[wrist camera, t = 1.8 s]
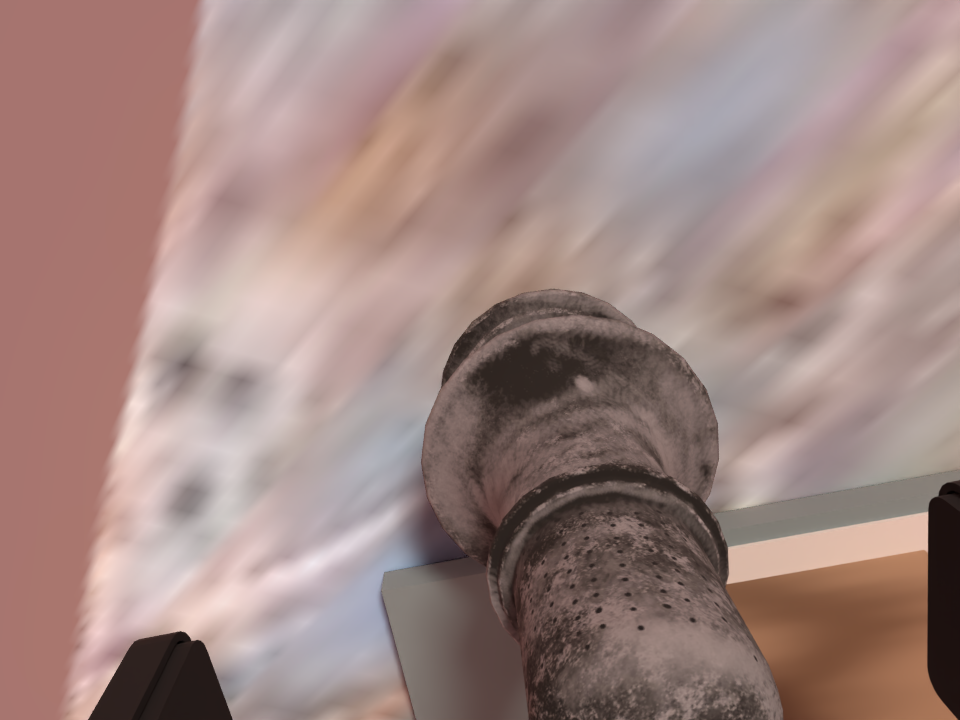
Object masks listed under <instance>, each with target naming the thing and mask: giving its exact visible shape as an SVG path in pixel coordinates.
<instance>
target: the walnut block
mask: <svg viewBox="0 0 960 720" xmlns="http://www.w3.org/2000/svg"><path fill="white" fill-rule="evenodd" d="M726 590H727V592H728V594H729V595H730V597H731V599H732V601H733V602H734V604H735V606H736V608H737V610H738V611H739V613H740V615H741V617H742V618H743V620H744V622H745V624H746V625H747V627H748V629H749V631H750V633H751V634H752V636H753V638H754V640H755V641H756V643H757V645H758V647H759V649H760V650H761V652H762V654H763V656H764V657H765V659H766V661H767V663H768V664H769V667H770V670H771V672H772V675H773V678H774V680H775V683H776V686H777V688H778V692H779V696H780V700H781V704H782V708H783V720H958V719H957V718H956V717H955V716H954V714H953V713H952V712H951V711H950V710H949V709H948V708H947V706H946V705H945V704H944V703H943V702H942V701H941V699H940V698H939V696H938V695H937V694H936V692H935V690H934V688H933V686H932V684H931V681H930V678H929V675H928V669H927V615H928V553H927V552H926V551H925V550H920V551H914V552H909V553H903V554H897V555H891V556H886V557H880V558H874V559H869V560H863V561H857V562H851V563H846V564H840V565H834V566H829V567H823V568H817V569H811V570H806V571H800V572H794V573H789V574H783V575H777V576H771V577H766V578H760V579H754V580H749V581H743V582H737V583H731V584H726Z"/></svg>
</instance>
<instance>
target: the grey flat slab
mask: <svg viewBox="0 0 960 720" xmlns="http://www.w3.org/2000/svg"><path fill="white" fill-rule="evenodd" d="M958 480H960V470H956V471H951V472H945V473H939V474H934V475H928V476H923V477H917V478H911V479H906V480H900V481H894V482H889V483H883V484H878V485H872V486H866V487H861V488H855V489H850V490H844V491H838V492H833V493H827V494H821V495H816V496H810V497H805V498H799V499H793V500H788V501H782V502H777V503H771V504H765V505H760V506H754V507H749V508H743V509H737V510H732V511H726V512H720V513H715V514H714V516H715V517H716V518H717V520H718V522H719V524H720V527H721V530H722V532H723V535H724V538H725V541H726V543H727V546H728V561H729V576H728V580H727V584H731V583H737V582H743V581H749V580H754V579H760V578H766V577H771V576H777V575H783V574H789V573H794V572H800V571H806V570H811V569H817V568H823V567H829V566H834V565H840V564H846V563H851V562H857V561H863V560H869V559H874V558H880V557H886V556H891V555H897V554H903V553H909V552H914V551H920V550H925V551H926V552H927V553H928V507H929V502H930V501H931V499H932V498H934V497H937V496H938V495H939V491H940V489H941V487H942V485H944V484H945V483H947V482H952V481H958ZM381 592H382V595H383V599H384V603H385V606H386V610H387V614H388V618H389V621H390V625H391V629H392V632H393V636H394V640H395V644H396V647H397V651H398V655H399V658H400V662H401V666H402V670H403V673H404V677H405V681H406V684H407V688H408V692H409V696H410V699H411V703H412V707H413V710H414V714H415V718H416V720H529V717H528V709H527V700H526V692H525V683H524V675H523V666H522V657H521V649H520V645H519V644H518V643H517V642H516V641H515V640H514V639H513V638H512V637H511V636H510V635H509V634H508V632H507V631H506V630H505V629H504V628H503V627H502V625H501V623H500V621H499V619H498V617H497V615H496V613H495V611H494V609H493V607H492V605H491V603H490V598H489V592H488V586H487V580H486V567H485V566H483V565H482V564H480V563H479V562H477V561H476V560H474V559H473V558H471V557H468V558H462V559H457V560H451V561H445V562H440V563H434V564H429V565H423V566H417V567H412V568H406V569H401V570H395V571H389V572H384V578H383V584H382V590H381Z"/></svg>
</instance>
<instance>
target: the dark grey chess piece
mask: <svg viewBox="0 0 960 720" xmlns="http://www.w3.org/2000/svg"><path fill="white" fill-rule="evenodd" d="M718 461H719V446H718V423H717V420H716V417H715V414H714V411H713V408H712V405H711V402H710V399H709V396H708V393H707V390H706V388H705V387H704V385H703V384H702V383H701V381H700V380H699V378H698V377H697V376H696V374H695V373H694V372H693V370H692V369H691V367H690V366H689V365H688V363H687V362H686V360H685V359H684V358H683V357H682V356H680V355H679V354H678V353H677V352H675V351H674V350H673V349H671V348H670V347H669V346H668V345H666V344H665V343H664V342H662V341H661V340H660V339H659V338H657V337H656V336H655V335H653V334H651V333H649V332H646V331H644V330H641V329H639V328H637V327H636V326H635V325H634V323H633V322H632V321H631V320H630V319H629V318H627V317H626V316H625V315H623V314H622V313H621V312H620V311H618V310H617V309H616V308H614V307H613V306H612V305H611V304H609V303H607V302H604V301H602V300H600V299H597V298H595V297H592V296H590V295H587V294H585V293H582V292H574V291H566V290H558V289H549V290H542V291H534V292H527V293H522V294H520V295H517V296H515V297H512V298H510V299H507V300H505V301H503V302H500V303H498V304H495V305H494V306H493V307H491V308H490V309H489V310H487V311H486V312H485V313H483V314H482V315H481V316H479V317H478V318H477V319H475V320H474V321H473V322H472V323H471V324H470V325H469V327H468V328H467V329H466V330H465V332H464V333H463V334H462V336H461V337H460V338H459V339H458V341H457V342H456V343H455V344H454V347H453V349H452V352H451V354H450V356H449V359H448V361H447V363H446V366H445V368H444V371H443V379H442V387H441V390H440V391H439V394H438V396H437V399H436V401H435V403H434V406H433V408H432V410H431V413H430V415H429V417H428V420H427V422H426V425H425V433H424V442H423V450H422V459H421V465H422V471H423V477H424V482H425V488H426V494H427V498H428V500H429V502H430V504H431V506H432V508H433V510H434V512H435V514H436V516H437V518H438V520H439V522H440V524H441V526H442V528H443V529H444V531H445V532H446V533H447V534H448V535H449V536H450V537H451V538H452V539H453V541H454V542H455V543H456V544H457V545H458V546H459V547H460V548H461V549H462V551H463V552H464V553H465V554H466V555H468V556H469V557H471V558H473V559H474V560H476V561H477V562H479V563H480V564H482V565H483V566H485V567H486V580H487V586H488V592H489V598H490V603H491V605H492V607H493V609H494V611H495V613H496V615H497V617H498V619H499V621H500V623H501V625H502V627H503V628H504V629H505V630H506V631H507V632H508V634H509V635H510V636H511V637H512V638H513V639H514V640H515V641H516V642H517V643H518V644H519V645H520V649H521V657H522V666H523V675H524V683H525V692H526V700H527V709H528V717H529V720H783V708H782V704H781V700H780V696H779V692H778V688H777V686H776V683H775V680H774V678H773V675H772V672H771V670H770V667H769V664H768V663H767V661H766V659H765V657H764V656H763V654H762V652H761V650H760V649H759V647H758V645H757V643H756V641H755V640H754V638H753V636H752V634H751V633H750V631H749V629H748V627H747V625H746V624H745V622H744V620H743V618H742V617H741V615H740V613H739V611H738V610H737V608H736V606H735V604H734V602H733V601H732V599H731V597H730V595H729V594H728V592H727V590H726V584H727V580H728V576H729V561H728V546H727V543H726V541H725V538H724V535H723V532H722V530H721V527H720V524H719V522H718V520H717V518H716V517H715V516H714V514H713V513H712V512H711V511H710V509H709V508H708V507H707V505H706V504H705V502H706V500H707V498H708V496H709V495H710V492H711V488H712V484H713V480H714V476H715V472H716V468H717V464H718Z"/></svg>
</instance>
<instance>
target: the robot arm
mask: <svg viewBox="0 0 960 720" xmlns="http://www.w3.org/2000/svg"><path fill="white" fill-rule="evenodd" d="M927 669H928V675H929V678H930V681H931V684H932V686H933V688H934V690H935V692H936V694H937V695H938V696H939V698H940V699H941V701H942V702H943V703H944V704H945V705H946V706H947V708H948V709H949V710H950V711H951V712H952V713H953V714H954V716H955V717H956V718H957V719H958V720H960V480H958V481H952V482H947V483H945V484H944V485H942V487H941V489H940V491H939V495H938V496H937V497H934V498H932V499H931V501H930V502H929V507H928V615H927ZM88 720H233V719H232V717H231V714H230V711H229V708H228V706H227V703H226V700H225V698H224V695H223V692H222V690H221V687H220V684H219V681H218V679H217V676H216V673H215V671H214V668H213V665H212V663H211V660H210V657H209V654H208V652H207V649H206V647H205V645H204V644H203V643H202V642H201V641H199V640H195V641H191V639H190V637H189V636H188V635H187V634H186V633H185V632H181V631H180V632H175V633H170V634H164V635H159V636H154V637H149V638H144V639H139V640H137V641H135V642H134V643H133V644H132V645H131V647H130V648H129V650H128V651H127V653H126V655H125V657H124V658H123V660H122V662H121V664H120V665H119V667H118V669H117V671H116V672H115V674H114V676H113V677H112V679H111V681H110V683H109V684H108V686H107V688H106V690H105V691H104V693H103V695H102V697H101V698H100V700H99V702H98V704H97V705H96V707H95V709H94V711H93V712H92V714H91V716H90V717H89V719H88Z"/></svg>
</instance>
